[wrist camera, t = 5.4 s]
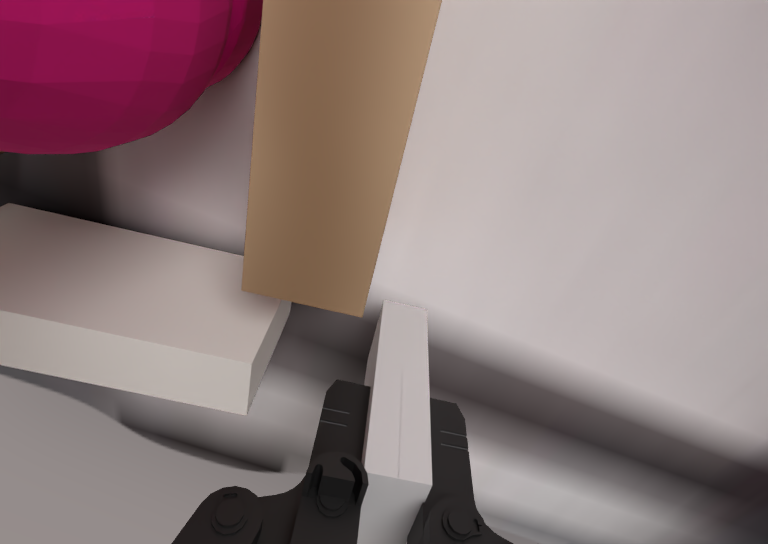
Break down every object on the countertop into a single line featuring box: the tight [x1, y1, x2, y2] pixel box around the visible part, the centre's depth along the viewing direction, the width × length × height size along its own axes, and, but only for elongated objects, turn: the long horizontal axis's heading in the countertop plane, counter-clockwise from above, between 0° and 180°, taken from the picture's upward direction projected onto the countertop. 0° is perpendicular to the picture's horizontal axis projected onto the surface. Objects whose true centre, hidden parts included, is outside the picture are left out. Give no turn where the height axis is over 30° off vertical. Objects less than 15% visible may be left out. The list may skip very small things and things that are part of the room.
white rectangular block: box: [0, 203, 291, 416], centre depth 14 cm, size 10×2×5 cm, turn 77°
